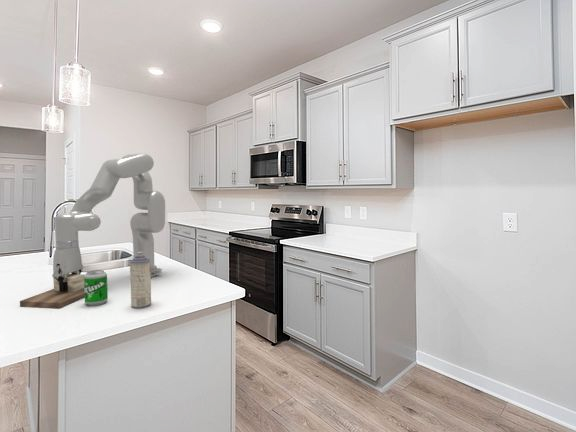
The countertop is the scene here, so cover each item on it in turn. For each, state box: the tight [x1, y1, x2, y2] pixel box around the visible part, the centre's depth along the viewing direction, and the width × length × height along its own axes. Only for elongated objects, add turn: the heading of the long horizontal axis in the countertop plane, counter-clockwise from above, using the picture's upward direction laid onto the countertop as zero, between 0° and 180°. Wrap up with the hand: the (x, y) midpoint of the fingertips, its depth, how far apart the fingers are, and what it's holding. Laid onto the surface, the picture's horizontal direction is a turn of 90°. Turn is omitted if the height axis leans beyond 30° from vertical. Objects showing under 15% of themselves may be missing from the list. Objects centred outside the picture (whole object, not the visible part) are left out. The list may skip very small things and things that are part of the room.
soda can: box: [84, 269, 109, 307], centre depth 123 cm, size 8×8×12 cm
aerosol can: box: [129, 252, 152, 310], centre depth 121 cm, size 7×7×20 cm
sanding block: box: [52, 273, 85, 293], centre depth 132 cm, size 9×6×6 cm, turn 84°
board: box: [19, 288, 85, 309], centre depth 129 cm, size 16×22×2 cm
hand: (69, 288), depth 132 cm, fingers closed on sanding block, 5 cm apart
